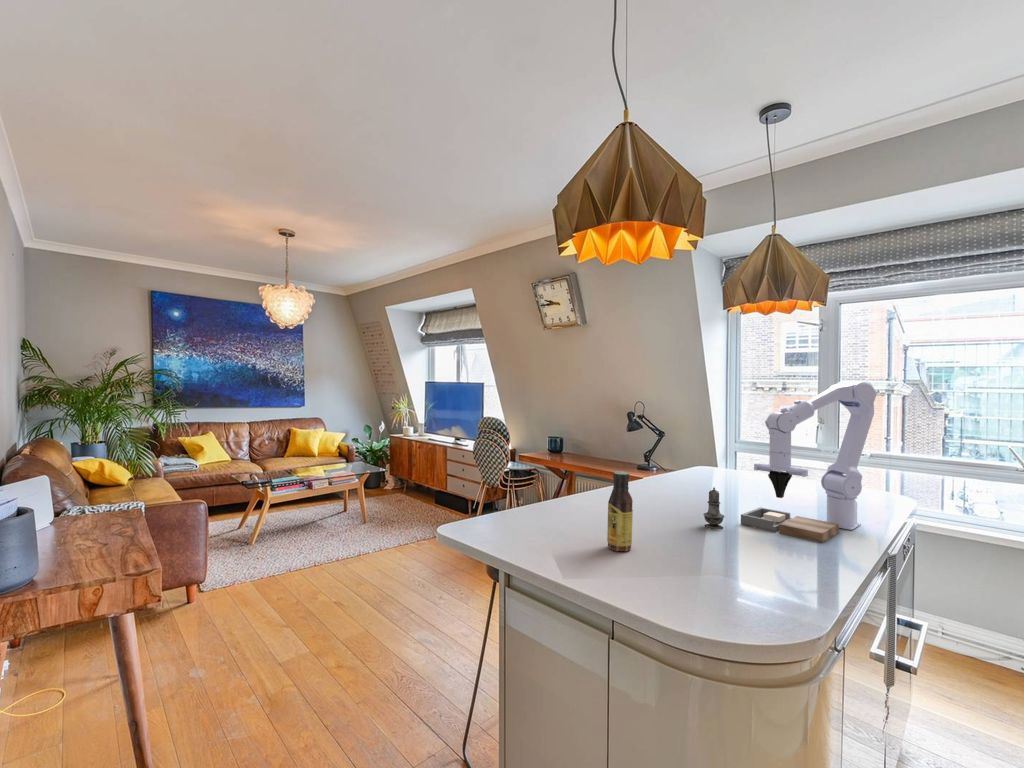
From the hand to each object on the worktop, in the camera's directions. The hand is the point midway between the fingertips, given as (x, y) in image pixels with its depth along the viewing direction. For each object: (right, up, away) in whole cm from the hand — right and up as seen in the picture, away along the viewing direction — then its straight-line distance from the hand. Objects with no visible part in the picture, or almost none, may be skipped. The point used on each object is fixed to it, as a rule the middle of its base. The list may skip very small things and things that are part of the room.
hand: (779, 497), depth 148 cm
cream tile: (-1, -7, +1) cm, 7 cm away
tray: (-2, -9, +3) cm, 9 cm away
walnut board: (+5, -9, -6) cm, 12 cm away
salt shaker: (-20, -9, -1) cm, 22 cm away
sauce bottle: (-53, -9, -22) cm, 58 cm away
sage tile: (-2, -8, +2) cm, 9 cm away
